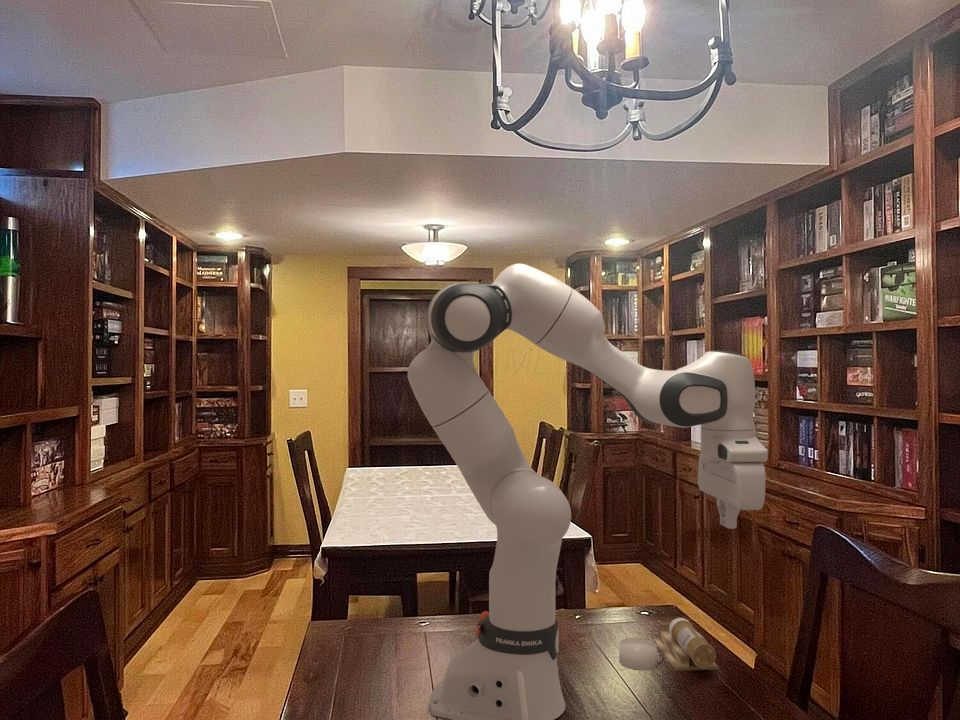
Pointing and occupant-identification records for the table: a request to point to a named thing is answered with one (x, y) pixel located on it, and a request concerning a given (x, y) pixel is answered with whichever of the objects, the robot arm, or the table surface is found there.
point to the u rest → (676, 651)
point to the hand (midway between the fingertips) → (728, 526)
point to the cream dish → (638, 654)
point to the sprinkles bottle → (692, 642)
